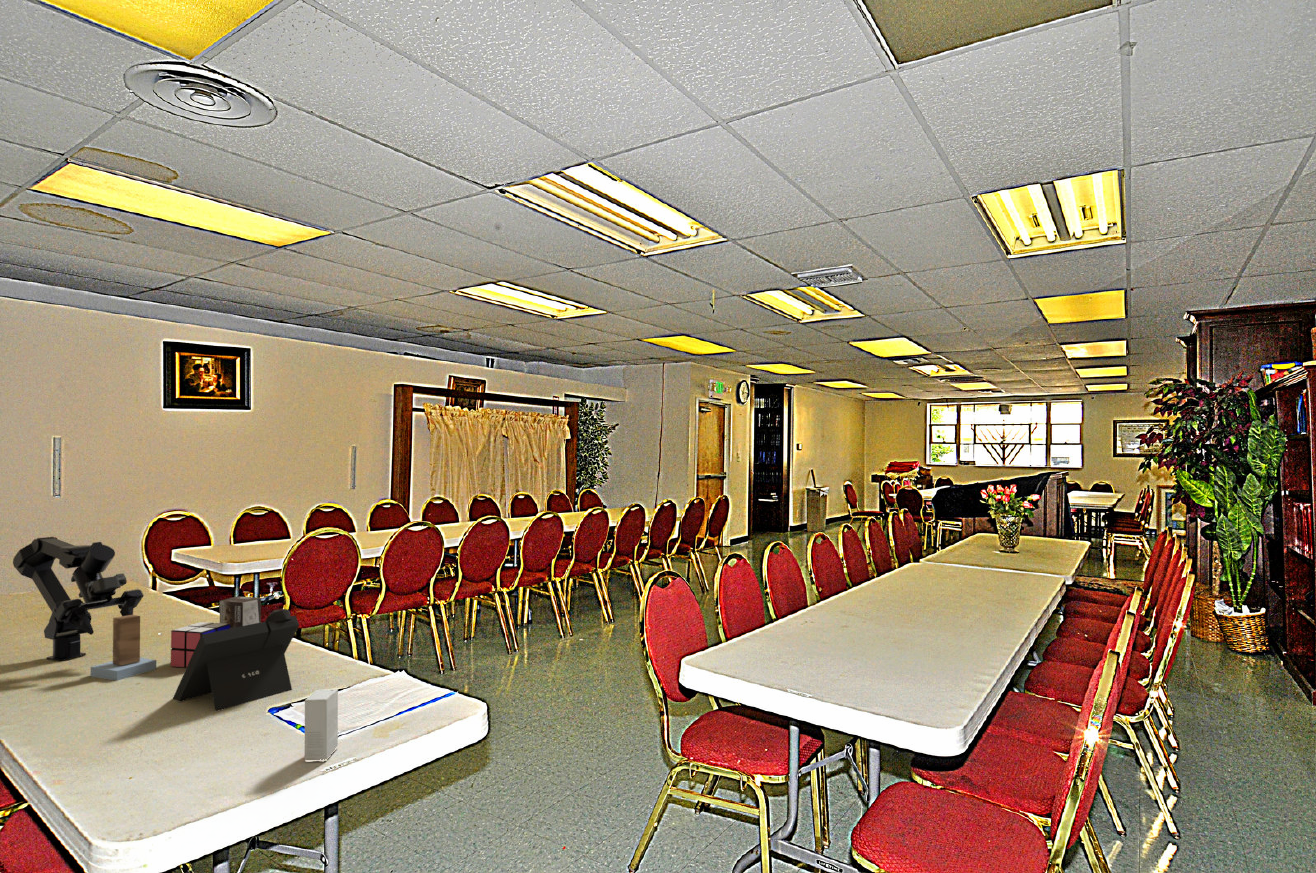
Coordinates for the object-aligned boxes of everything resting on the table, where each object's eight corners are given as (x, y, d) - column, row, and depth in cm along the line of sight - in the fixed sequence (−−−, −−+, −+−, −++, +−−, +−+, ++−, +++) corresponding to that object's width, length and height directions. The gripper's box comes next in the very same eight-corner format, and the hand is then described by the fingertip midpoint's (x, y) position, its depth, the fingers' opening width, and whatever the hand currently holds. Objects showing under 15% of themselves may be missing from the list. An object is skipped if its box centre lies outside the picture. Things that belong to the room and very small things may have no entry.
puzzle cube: (200, 669, 190) (201, 632, 190) (169, 667, 192) (170, 630, 192) (230, 658, 200) (230, 623, 200) (200, 656, 202) (200, 621, 202)
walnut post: (112, 663, 186) (113, 617, 187) (131, 659, 190) (132, 614, 191) (120, 665, 184) (121, 619, 185) (139, 661, 188) (140, 615, 188)
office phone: (273, 661, 198) (274, 589, 198) (330, 680, 182) (330, 602, 182) (153, 690, 174) (154, 608, 174) (205, 715, 158) (207, 625, 158)
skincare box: (315, 749, 140) (316, 688, 140) (338, 748, 140) (338, 688, 140) (303, 763, 134) (303, 699, 134) (326, 762, 134) (327, 699, 134)
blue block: (90, 678, 184) (90, 666, 184) (130, 667, 193) (130, 656, 193) (117, 682, 180) (117, 670, 180) (156, 671, 190) (156, 659, 190)
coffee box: (261, 653, 204) (262, 597, 205) (242, 659, 198) (242, 602, 199) (238, 650, 207) (238, 595, 208) (218, 656, 201) (218, 599, 202)
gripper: (61, 570, 184) (83, 618, 179) (140, 560, 201) (162, 604, 196) (45, 597, 187) (66, 645, 182) (124, 585, 204) (145, 628, 199)
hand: (112, 629), depth 190 cm, fingers open, 9 cm apart
